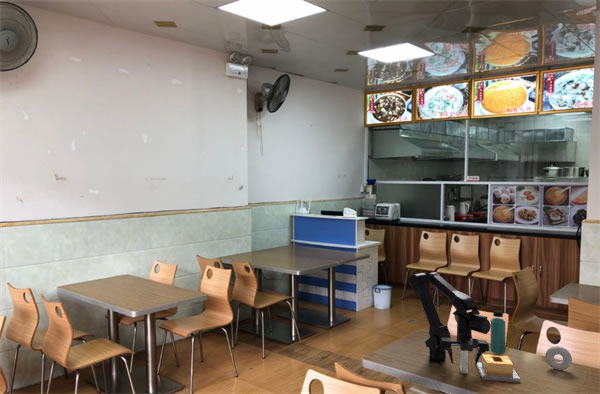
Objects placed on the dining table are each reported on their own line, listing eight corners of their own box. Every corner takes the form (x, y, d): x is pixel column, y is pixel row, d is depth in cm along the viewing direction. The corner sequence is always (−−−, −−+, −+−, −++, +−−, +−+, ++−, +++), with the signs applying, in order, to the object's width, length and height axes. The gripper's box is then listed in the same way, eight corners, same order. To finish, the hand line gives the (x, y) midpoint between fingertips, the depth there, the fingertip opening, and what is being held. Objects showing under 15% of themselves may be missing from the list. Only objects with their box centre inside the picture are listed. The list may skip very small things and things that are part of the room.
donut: (571, 370, 192) (571, 346, 192) (572, 373, 189) (573, 349, 188) (544, 366, 196) (544, 343, 196) (545, 369, 193) (545, 345, 192)
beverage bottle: (507, 358, 205) (507, 313, 205) (491, 356, 207) (492, 312, 206) (503, 352, 212) (504, 309, 211) (488, 351, 213) (489, 308, 212)
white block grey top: (461, 372, 189) (461, 351, 189) (460, 369, 193) (460, 347, 193) (467, 373, 189) (467, 351, 189) (466, 369, 193) (466, 348, 192)
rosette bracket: (482, 379, 183) (482, 364, 183) (475, 364, 198) (475, 350, 198) (520, 382, 180) (520, 367, 180) (510, 367, 195) (510, 353, 195)
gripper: (443, 332, 184) (442, 370, 185) (492, 335, 181) (491, 374, 181) (440, 323, 195) (439, 360, 196) (486, 326, 192) (486, 363, 192)
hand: (463, 364), depth 191 cm, fingers open, 9 cm apart
